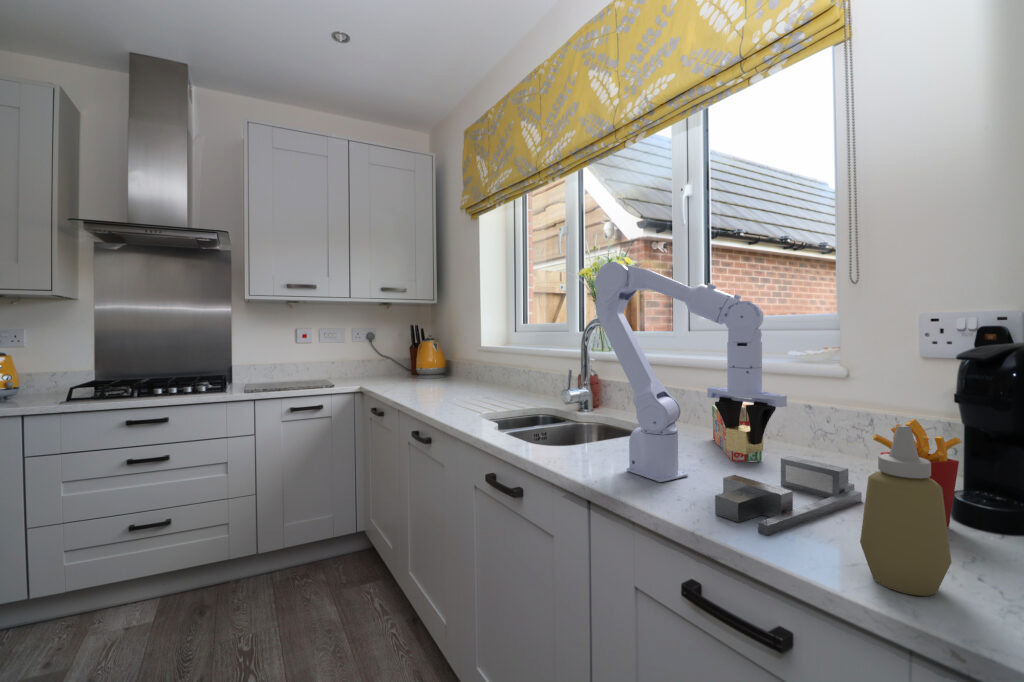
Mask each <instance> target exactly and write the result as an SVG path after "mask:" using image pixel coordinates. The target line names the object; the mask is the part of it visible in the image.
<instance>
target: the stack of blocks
mask: <svg viewBox="0 0 1024 682" xmlns="http://www.w3.org/2000/svg"><path fill="white" fill-rule="evenodd" d="M746 405H754V403H750V402H743V404H742V408H741V413H740V419H739V426H741V425H746V426H750V422H749V417H748V413H747V410H746ZM711 413H712V415H711V416H712V440H713V439H714V440H715V441H714V440H713V441H714V442H715V444H716V443H717V444H718V445H719V446H720V447H721V448H722V449H721V448H720V447H719V446H718V445H717V444H716V445H717V446H718V447H719V448H720V449H721V450H722V451H723V452H724V453H725V455H726V456H727V458H728V459H729V458H730V459H729V460H730V461H731V462H741V461H757V462H756V463H761V462H762V455H763V454H762V453H763V451H759V452H754V453H750V454H743V453H738V452H734V451H730V450H726V428H725V424H724V422H723V419H722V417H721V415H720V413H719V411H718V409H717V408H716V406H715V404H714V405H713V404H712V406H711ZM760 461H761V462H760Z"/></svg>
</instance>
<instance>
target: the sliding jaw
mask: <svg viewBox="0 0 1024 682" xmlns="http://www.w3.org/2000/svg"><path fill="white" fill-rule="evenodd" d="M722 479H723V482H722V485H723V486H722V491H723V492H721V493H719V494H715V495H714V501H715V502H714V509H715V510H714V514H715V515H716V516H719V517H722V518H725V519H727V520H730V521H733V522H736V523H738V524H739V523H741V522H745V521H747V520H751V519H754V518H757V517H759V516H762V515H763V516H766V517H768V518H771V517H774V516H777V515H780V514H783V513H786V512H789V511H792V510H794V509H793V508H794V503H793V502H794V501H793V500H794V499H793V498H794V497H793V496H794V495H793V494H794V492H793V490H789V489H786V488H783V487H780V486H775V485H773V484H768V483H765V482H762V481H758V480H754V479H751V478H746V477H744V476H739V475H736V474H732V475H728V476H724V477H723V478H722Z"/></svg>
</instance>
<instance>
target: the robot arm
mask: <svg viewBox="0 0 1024 682" xmlns="http://www.w3.org/2000/svg"><path fill="white" fill-rule="evenodd" d="M593 285H594V287H595V290H596V291H595V292H596V293H595V294H596V295H595V296H596V297H595V298H596V299H595V302H596V304H595V314H596V316H597V319H598V321H599V323H600V325H601V327H602V329H603V332H604V334H605V335H606V337H607V340H608V341H609V343H610V345H611V348H612V349H613V351H614V353H615V355H616V357H617V359H618V361H619V364H620V365H621V367H622V370H623V372H624V373H625V375H626V378H627V380H628V382H629V384H630V386H631V388H632V390H633V395H632V401H633V402H632V403H634V405H635V410H636V420H637V423H638V424H639V427H636V428H634V429H633V431H632V432H631V433H630V436H629V440H628V442H629V443H628V447H629V449H628V451H629V452H628V453H629V455H628V456H629V458H628V461H629V462H628V463H629V467H626V471H628V472H629V473H633V474H636V475H638V476H641V477H644V478H647V479H650V480H651V481H652V480H653V481H656V482H659V483H663V482H667V481H672V480H675V479H680V478H684V477H688V476H689V473H687V472H685V471H683V470H679V428H678V427H677V425H676V422H677V421H678V420H679V419H680V416H681V411H682V410H681V405H680V404H679V402H678V401H677V399H676V398H675V397H673V396H672V395H671V394H670V393H669V392H668V390H667V388H666V387H665V385H663V384H662V383H661V382H660V381H659V379H658V378H657V376H656V374H655V373H654V371H653V368H652V366H651V365H650V363H649V360H648V358H647V357H646V355H645V352H644V351H643V349H642V347H641V345H640V342H639V341H638V339H637V337H636V335H635V333H634V331H633V329H632V327H631V325H630V324H629V321H628V320H627V317H626V315H625V314H624V313H625V311H626V308H627V306H628V302H629V301H630V300H631V299H632V297H633V296H634V295H635V294H636V293H637V291H641V292H643V291H647V290H651V291H654V292H656V293H659V294H662V295H665V296H667V297H669V298H672V299H675V300H677V301H681V302H683V303H685V305H686V307H687V310H688V312H689V313H692V314H694V315H697V316H699V317H702V318H704V319H706V320H708V321H711V322H714V323H716V324H718V325H725V326H726V328H727V329H728V330H727V334H728V335H727V338H728V339H727V344H726V345H727V347H726V348H727V349H726V351H727V353H726V354H727V356H726V357H727V358H726V359H727V362H726V363H727V364H726V365H727V368H726V369H727V370H726V371H727V372H726V373H727V376H726V377H727V378H726V379H727V380H726V381H727V382H726V383H727V385H726V386H727V387H718V386H717V387H716V386H711V387H707V391H706V392H707V395H706V396H707V398H710V399H714V398H715V399H719V400H718V401H715V402H714V405H715V406H716V408H717V409H718V411H719V413H720V415H721V417H722V419H723V422H724V424H725V428H729V427H735V426H739V419H740V413H741V408H742V404H743V402H750V403H754V405H746V410H747V413H748V417H749V422H750V440H751V444H753V445H756V444H761V443H762V438H763V439H764V434H765V430H766V427H767V425H768V424H769V421H770V419H771V417H772V416H773V414H774V413H775V412H776V408H784V407H787V406H788V395H787V394H781V393H775V392H769V391H763V342H762V336H763V335H762V330H761V328H760V327H761V326H762V324H763V322H764V313H763V310H762V308H761V307H760V306H759V305H758V304H756V303H754V302H752V301H750V300H741V298H742V296H741V295H740V294H736V293H735V294H734V295H733V294H729V293H727V292H724V291H721V290H719V289H717V286H716V285H714V284H713V283H709V282H708V283H707V285H706V284H702V283H701V284H698V285H696V286H693V287H692V286H689V285H686V284H684V283H681V282H680V281H677V280H674V279H672V278H670V277H668V276H665V275H662V274H660V273H658V272H656V271H653V270H650V269H646V268H642V267H638V266H633V265H628V264H622V263H619V262H618V261H609V262H606V263H604V264H603V265H602V266H601V267H600V269H599V270H598V272H597V274H596V277H595V279H594V282H593Z"/></svg>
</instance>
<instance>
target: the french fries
mask: <svg viewBox="0 0 1024 682" xmlns="http://www.w3.org/2000/svg"><path fill="white" fill-rule="evenodd" d="M897 426H909V427H911V430H912V434H913V437H915V438H914V441H915V445H916V449H917V453H918V456H919V457H920V458H924V459H926V460H928V461H930V462H931V476H930V477H929V478H930V479H933V480H934V481H935V482H937V483H938V484H939V485H940V486H941V487H942V491H943V499H944V507H945V515H946V523H947V527H948V528H949V527H950V522H951V516H952V511H953V503H954V498H955V497H954V496H955V490H956V485H957V484H956V483H957V477H958V471H959V465H960V464H959V463H960V461H959V460H956V459H953V458H948V451H949V449H951V448H953V447H954V446H957V445H959V444H961V443H962V440H961V439H960V438H958V437H953V438H951V439H948V440H947V441H945V437H944V436H935V437H934V442H935V445H936V451H935V452H933V453H930V451H931V449H930V442H929V440H930V438H929V437H928V435H927V432H926V430H925V429H924V428H923V426H922V425H921V423H919V422H918V420H917V419H915V418H914V419H910V420H909V421H908V422H905V423H904V425H903V424H899V423H898V424H897V423H896V425H895V427H892V428H891V429H890V431H892V432H893V437H892V440H894V436H895V433H896V429H897ZM872 440H873V441H874V442H877V443H880V444H881V445H883V446H884V447H886V448H888V449H890V450H891V447H892V443H893V441H892V440H889V439H888V438H886V437H883V436H881V435H880V434H877V433H876V434H875V435H874V436H872ZM881 454H890V451H887V452H886V451H885V452H880V455H881Z"/></svg>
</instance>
